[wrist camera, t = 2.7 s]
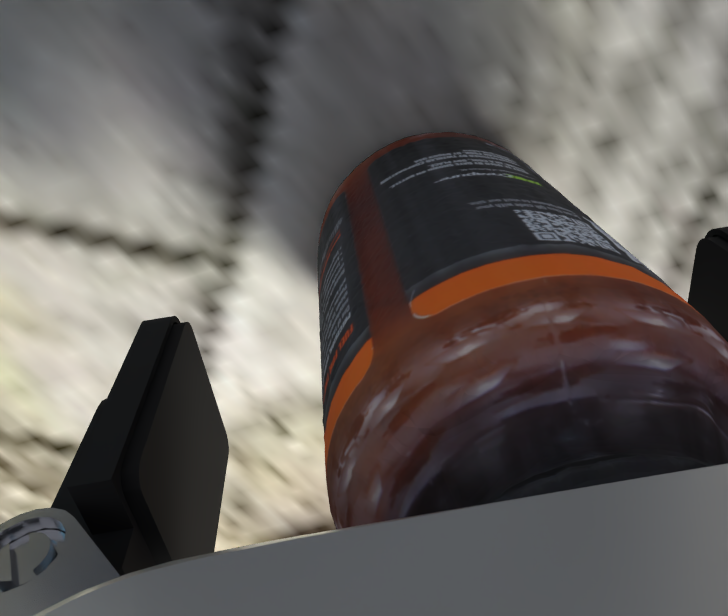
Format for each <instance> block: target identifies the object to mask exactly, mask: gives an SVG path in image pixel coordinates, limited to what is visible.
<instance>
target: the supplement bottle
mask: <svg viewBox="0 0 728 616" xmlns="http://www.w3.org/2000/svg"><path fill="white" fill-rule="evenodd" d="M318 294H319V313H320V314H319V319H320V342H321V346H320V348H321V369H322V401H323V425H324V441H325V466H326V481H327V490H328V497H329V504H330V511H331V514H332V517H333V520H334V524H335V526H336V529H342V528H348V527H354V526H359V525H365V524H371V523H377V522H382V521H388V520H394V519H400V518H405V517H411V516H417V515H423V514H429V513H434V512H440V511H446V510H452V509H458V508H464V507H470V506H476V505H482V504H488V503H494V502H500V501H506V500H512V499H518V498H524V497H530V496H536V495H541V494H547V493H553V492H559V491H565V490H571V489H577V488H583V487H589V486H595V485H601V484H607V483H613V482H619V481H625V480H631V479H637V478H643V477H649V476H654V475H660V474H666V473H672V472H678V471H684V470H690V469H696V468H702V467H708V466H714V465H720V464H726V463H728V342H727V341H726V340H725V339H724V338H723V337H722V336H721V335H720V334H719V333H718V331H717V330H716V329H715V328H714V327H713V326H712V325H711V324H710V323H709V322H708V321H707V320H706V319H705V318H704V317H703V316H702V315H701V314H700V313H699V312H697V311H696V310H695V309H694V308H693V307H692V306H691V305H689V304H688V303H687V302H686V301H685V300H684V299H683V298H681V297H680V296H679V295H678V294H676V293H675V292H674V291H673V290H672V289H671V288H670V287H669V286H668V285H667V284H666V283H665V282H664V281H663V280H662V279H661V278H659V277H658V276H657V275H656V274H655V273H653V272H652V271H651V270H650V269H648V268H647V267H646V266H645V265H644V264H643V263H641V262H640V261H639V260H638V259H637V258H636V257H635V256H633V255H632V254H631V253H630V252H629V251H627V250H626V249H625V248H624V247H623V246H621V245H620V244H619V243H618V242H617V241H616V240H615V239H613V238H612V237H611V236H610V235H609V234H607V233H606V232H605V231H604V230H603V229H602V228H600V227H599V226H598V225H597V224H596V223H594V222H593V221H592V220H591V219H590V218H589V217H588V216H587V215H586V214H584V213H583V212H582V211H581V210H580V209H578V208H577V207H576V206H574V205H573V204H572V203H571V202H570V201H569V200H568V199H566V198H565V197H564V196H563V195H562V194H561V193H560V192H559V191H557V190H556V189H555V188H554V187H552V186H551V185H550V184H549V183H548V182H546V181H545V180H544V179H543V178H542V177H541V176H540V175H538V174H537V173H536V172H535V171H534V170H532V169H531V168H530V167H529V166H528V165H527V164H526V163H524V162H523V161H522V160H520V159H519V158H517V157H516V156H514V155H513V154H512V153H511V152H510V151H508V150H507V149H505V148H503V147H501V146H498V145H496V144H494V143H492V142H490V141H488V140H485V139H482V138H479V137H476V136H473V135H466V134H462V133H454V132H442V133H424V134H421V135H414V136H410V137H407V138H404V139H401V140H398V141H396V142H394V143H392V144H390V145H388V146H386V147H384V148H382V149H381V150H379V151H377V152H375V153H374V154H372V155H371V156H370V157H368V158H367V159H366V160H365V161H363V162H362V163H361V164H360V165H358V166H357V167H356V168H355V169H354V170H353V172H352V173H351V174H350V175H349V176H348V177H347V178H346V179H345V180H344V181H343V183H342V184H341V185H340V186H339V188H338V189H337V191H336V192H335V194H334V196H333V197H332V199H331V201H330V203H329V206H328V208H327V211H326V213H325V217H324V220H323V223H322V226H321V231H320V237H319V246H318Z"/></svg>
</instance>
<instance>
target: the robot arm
mask: <svg viewBox="0 0 728 616" xmlns="http://www.w3.org/2000/svg"><path fill="white" fill-rule="evenodd" d="M688 304H689V305H691V306H692V307H693V308H694V309H695V310H696V311H697V312H699V313H700V314H701V315H702V316H703V317H704V318H705V319H706V320H707V321H708V322H709V323H710V324H711V325H712V326H713V327H714V328H715V329H716V330H717V331H718V333H719V334H720V335H721V336H722V337H723V338H724V339H725V340H726V341H727V342H728V227H723V228H717V229H712V230H710V231H709V232H708V233H707V235H706V236H705V238H703V239H701V240H700V241H699V243H698V245H697V248H696V254H695V260H694V267H693V273H692V279H691V285H690V292H689V298H688ZM228 454H229V446H228V438H227V434H226V431H225V428H224V425H223V422H222V419H221V415H220V412H219V409H218V406H217V403H216V400H215V397H214V394H213V391H212V388H211V385H210V382H209V379H208V375H207V372H206V369H205V366H204V363H203V360H202V357H201V354H200V351H199V348H198V345H197V342H196V339H195V335H194V332H193V329H192V327H191V325H190V323H189V322H184V323H180V321H179V319H178V318H177V317H176V316H172V317H165V318H159V319H153V320H147V321H143V322H142V323H141V325H140V327H139V329H138V332H137V334H136V336H135V338H134V340H133V343H132V345H131V347H130V349H129V351H128V354H127V356H126V358H125V360H124V362H123V365H122V367H121V369H120V371H119V373H118V376H117V378H116V380H115V382H114V384H113V387H112V389H111V391H110V393H109V395H108V398H107V399H105V400H103V401H102V402H101V403H100V405H99V406H98V408H97V410H96V412H95V414H94V416H93V419H92V421H91V423H90V425H89V427H88V429H87V431H86V434H85V436H84V438H83V440H82V442H81V444H80V446H79V448H78V451H77V453H76V455H75V457H74V459H73V461H72V463H71V466H70V468H69V470H68V472H67V474H66V476H65V478H64V481H63V483H62V485H61V487H60V489H59V491H58V493H57V496H56V498H55V500H54V502H53V504H52V506H51V508H44V509H35V510H32V511H29V512H26V513H23V514H20V515H18V516H16V517H14V518H12V519H10V520H8V521H6V522H4V523H2V524H0V616H728V463H726V464H720V465H714V466H708V467H702V468H696V469H690V470H684V471H678V472H672V473H666V474H660V475H654V476H649V477H643V478H637V479H631V480H625V481H619V482H613V483H607V484H601V485H595V486H589V487H583V488H577V489H571V490H565V491H559V492H553V493H547V494H541V495H536V496H530V497H524V498H518V499H512V500H506V501H500V502H494V503H488V504H482V505H476V506H470V507H464V508H458V509H452V510H446V511H440V512H434V513H429V514H423V515H417V516H411V517H405V518H400V519H394V520H388V521H382V522H377V523H371V524H365V525H359V526H354V527H348V528H342V529H336V530H331V531H325V532H319V533H313V534H308V535H302V536H296V537H290V538H285V539H279V540H273V541H267V542H262V543H257V544H252V545H247V546H242V547H237V548H232V549H227V550H223V551H218V552H214V548H215V542H216V535H217V528H218V522H219V515H220V508H221V501H222V495H223V488H224V481H225V475H226V468H227V461H228Z"/></svg>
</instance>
